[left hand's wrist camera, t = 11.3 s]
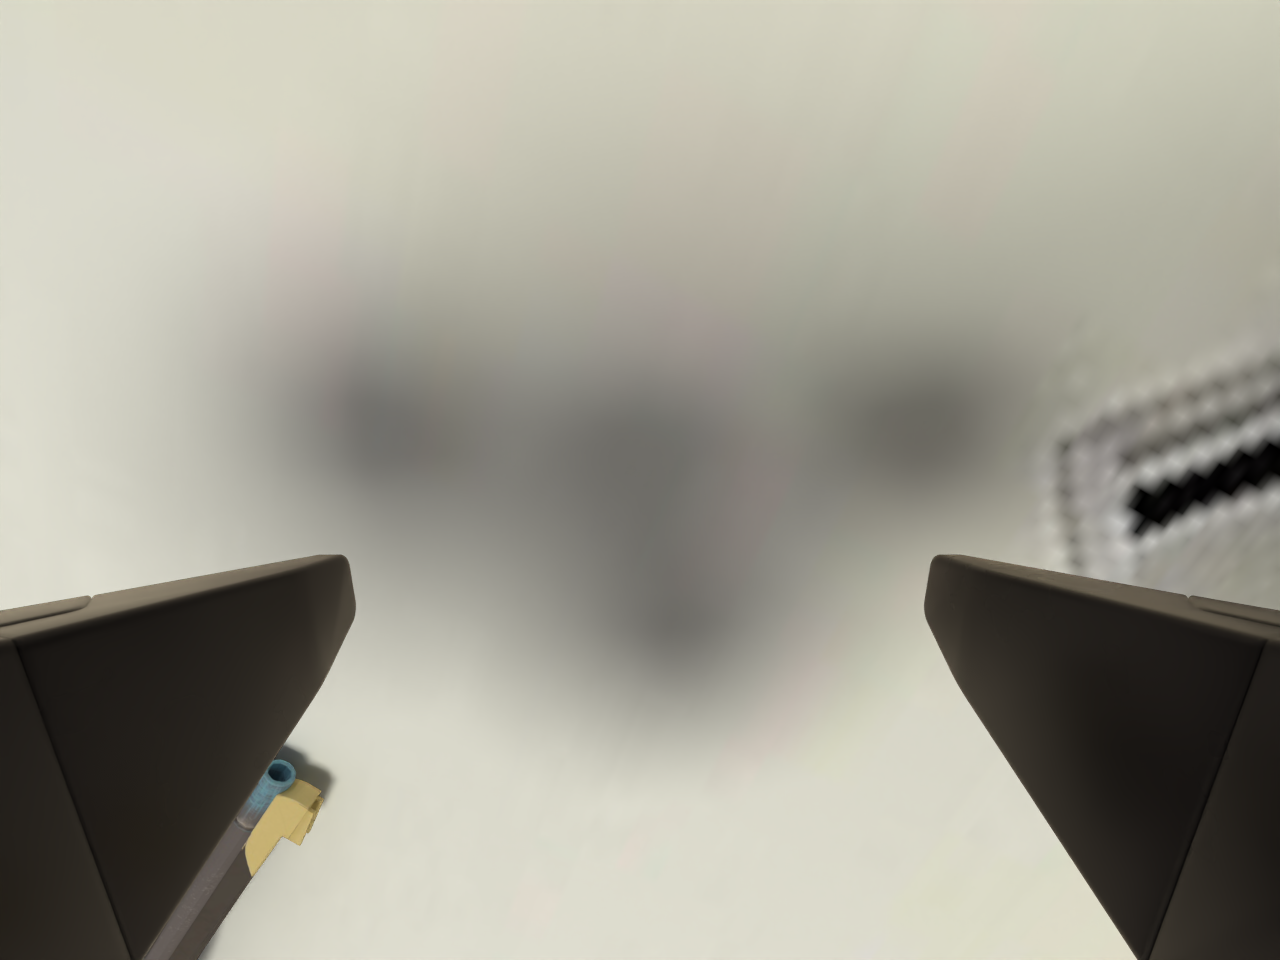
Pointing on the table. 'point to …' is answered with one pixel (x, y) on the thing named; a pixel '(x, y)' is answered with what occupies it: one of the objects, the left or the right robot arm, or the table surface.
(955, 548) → the table surface
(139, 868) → the left robot arm
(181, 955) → the toy gun
